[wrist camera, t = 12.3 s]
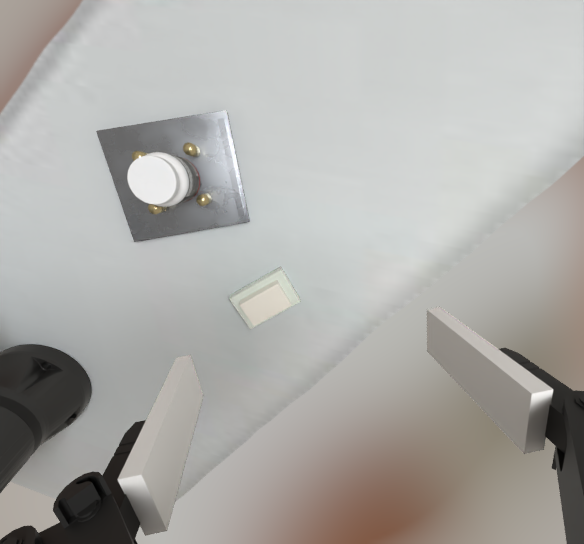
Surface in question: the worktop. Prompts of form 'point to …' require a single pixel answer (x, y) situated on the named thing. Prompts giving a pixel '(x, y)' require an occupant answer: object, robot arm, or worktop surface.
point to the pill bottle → (163, 179)
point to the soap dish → (260, 284)
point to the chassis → (195, 148)
